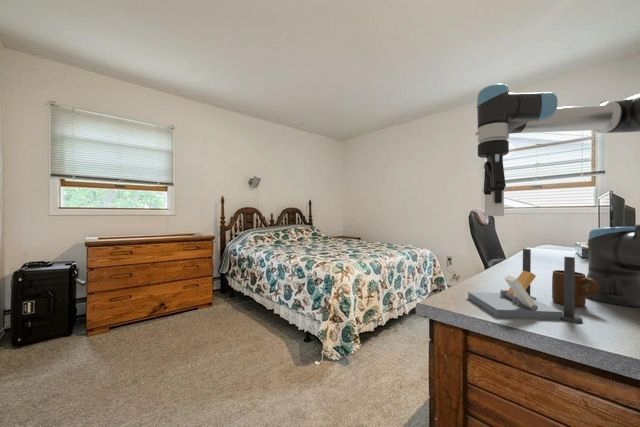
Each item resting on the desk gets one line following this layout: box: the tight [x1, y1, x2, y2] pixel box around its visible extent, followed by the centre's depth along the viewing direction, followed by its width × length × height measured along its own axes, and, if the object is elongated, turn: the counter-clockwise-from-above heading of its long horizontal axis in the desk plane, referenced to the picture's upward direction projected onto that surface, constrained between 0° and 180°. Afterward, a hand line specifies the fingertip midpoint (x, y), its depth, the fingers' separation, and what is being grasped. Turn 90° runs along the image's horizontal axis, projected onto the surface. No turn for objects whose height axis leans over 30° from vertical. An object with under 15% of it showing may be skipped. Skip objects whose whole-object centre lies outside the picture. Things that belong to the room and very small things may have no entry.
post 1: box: [522, 248, 537, 301], centre depth 86 cm, size 5×5×16 cm
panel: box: [467, 289, 563, 321], centre depth 78 cm, size 16×16×4 cm
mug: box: [551, 269, 599, 308], centre depth 80 cm, size 12×8×9 cm, turn 3°
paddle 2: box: [503, 275, 538, 311], centre depth 71 cm, size 2×4×9 cm
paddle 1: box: [505, 269, 537, 300], centre depth 79 cm, size 2×4×9 cm
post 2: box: [559, 256, 583, 324], centre depth 70 cm, size 5×5×16 cm
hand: (493, 216), depth 77 cm, fingers open, 13 cm apart
